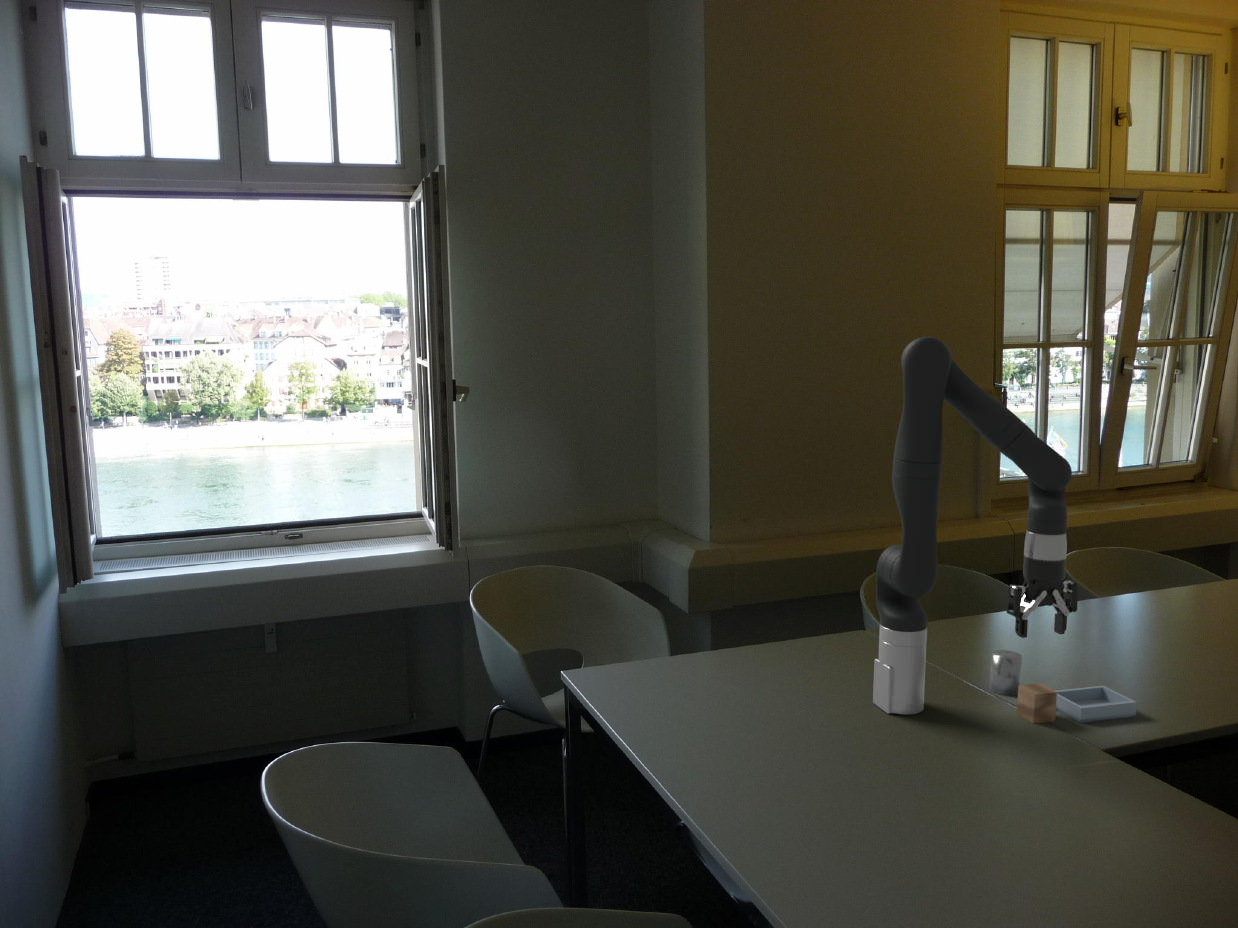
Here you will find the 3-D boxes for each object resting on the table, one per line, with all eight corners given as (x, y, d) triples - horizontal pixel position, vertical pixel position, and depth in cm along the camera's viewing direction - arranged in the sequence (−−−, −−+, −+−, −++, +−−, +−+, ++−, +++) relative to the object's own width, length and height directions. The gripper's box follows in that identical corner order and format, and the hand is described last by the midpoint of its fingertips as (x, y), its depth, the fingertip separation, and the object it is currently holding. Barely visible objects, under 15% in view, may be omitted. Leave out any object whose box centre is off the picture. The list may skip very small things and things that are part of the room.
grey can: (1001, 696, 200) (1003, 660, 198) (983, 686, 205) (985, 651, 204) (1026, 694, 201) (1028, 657, 200) (1008, 684, 207) (1009, 648, 206)
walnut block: (1033, 723, 186) (1034, 694, 185) (1016, 713, 191) (1018, 685, 190) (1055, 721, 187) (1057, 692, 186) (1038, 711, 192) (1040, 682, 191)
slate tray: (1080, 722, 186) (1081, 708, 186) (1048, 705, 195) (1049, 691, 194) (1135, 716, 189) (1137, 701, 189) (1102, 699, 198) (1103, 685, 198)
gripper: (1025, 561, 179) (1021, 644, 181) (1090, 556, 183) (1085, 637, 185) (1000, 552, 186) (997, 632, 189) (1063, 547, 190) (1058, 626, 192)
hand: (1040, 634), depth 187 cm, fingers open, 8 cm apart
